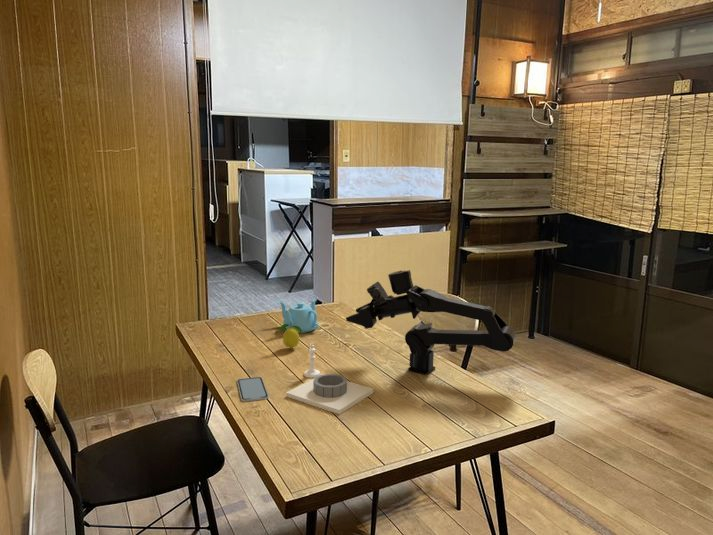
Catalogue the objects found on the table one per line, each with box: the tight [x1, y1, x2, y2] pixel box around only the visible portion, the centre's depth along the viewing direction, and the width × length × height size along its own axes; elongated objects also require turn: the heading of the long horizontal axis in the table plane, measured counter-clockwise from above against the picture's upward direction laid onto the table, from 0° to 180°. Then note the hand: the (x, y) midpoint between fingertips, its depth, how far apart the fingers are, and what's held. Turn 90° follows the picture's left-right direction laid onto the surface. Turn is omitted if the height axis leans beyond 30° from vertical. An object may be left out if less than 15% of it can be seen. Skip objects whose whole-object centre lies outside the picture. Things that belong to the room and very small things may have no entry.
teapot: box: [278, 298, 319, 334], centre depth 203 cm, size 15×15×10 cm
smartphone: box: [236, 376, 270, 403], centre depth 150 cm, size 7×1×15 cm
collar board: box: [285, 373, 374, 415], centre depth 147 cm, size 18×16×4 cm
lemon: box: [278, 323, 303, 350], centre depth 181 cm, size 7×6×10 cm
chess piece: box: [303, 342, 321, 379], centre depth 160 cm, size 5×5×10 cm
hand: (351, 314), depth 171 cm, fingers open, 9 cm apart
